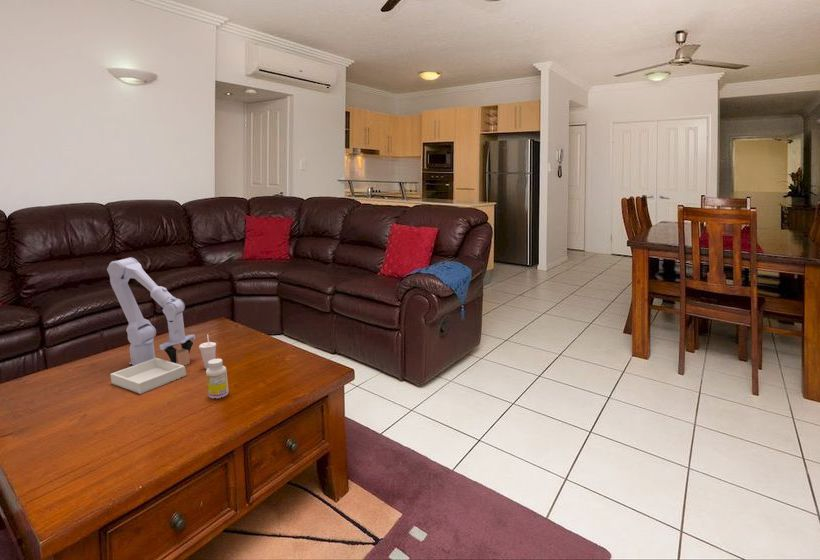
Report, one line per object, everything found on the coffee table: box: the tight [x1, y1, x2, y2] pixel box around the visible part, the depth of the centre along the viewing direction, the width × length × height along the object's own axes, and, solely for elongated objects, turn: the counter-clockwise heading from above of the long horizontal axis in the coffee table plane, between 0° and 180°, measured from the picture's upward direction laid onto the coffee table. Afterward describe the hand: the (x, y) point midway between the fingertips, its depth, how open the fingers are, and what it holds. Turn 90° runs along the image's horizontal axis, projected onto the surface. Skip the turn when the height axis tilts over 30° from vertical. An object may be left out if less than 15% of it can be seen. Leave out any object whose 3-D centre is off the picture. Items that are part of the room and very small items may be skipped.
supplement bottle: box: [205, 358, 230, 399], centre depth 160 cm, size 7×7×13 cm
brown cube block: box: [176, 347, 191, 366], centre depth 188 cm, size 5×5×6 cm
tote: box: [110, 357, 187, 395], centre depth 174 cm, size 18×18×4 cm
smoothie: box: [198, 333, 217, 370], centre depth 184 cm, size 6×6×14 cm
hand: (180, 360), depth 188 cm, fingers closed on brown cube block, 5 cm apart
